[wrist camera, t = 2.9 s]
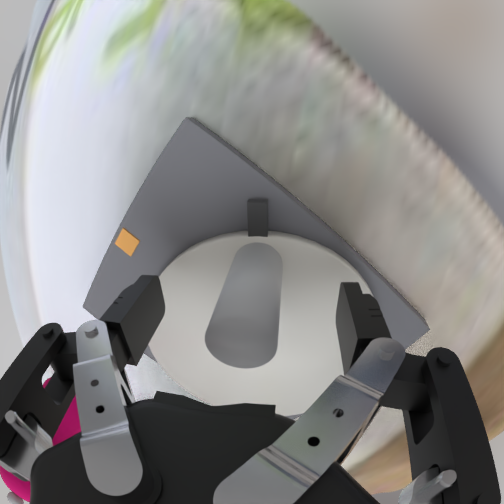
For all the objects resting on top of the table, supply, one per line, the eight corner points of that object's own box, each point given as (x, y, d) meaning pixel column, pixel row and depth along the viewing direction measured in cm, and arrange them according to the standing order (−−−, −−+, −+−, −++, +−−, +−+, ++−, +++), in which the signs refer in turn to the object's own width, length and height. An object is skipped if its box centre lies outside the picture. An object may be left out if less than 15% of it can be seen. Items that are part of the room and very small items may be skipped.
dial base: (424, 319, 19) (430, 330, 17) (277, 417, 25) (276, 428, 24) (192, 117, 15) (184, 117, 14) (89, 298, 22) (81, 307, 20)
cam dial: (352, 406, 22) (359, 476, 15) (174, 395, 23) (150, 459, 17) (405, 203, 14) (473, 266, 8) (124, 201, 16) (43, 253, 9)
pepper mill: (121, 393, 27) (54, 534, 10) (94, 400, 30) (34, 516, 12) (75, 349, 25) (-15, 490, 7) (54, 362, 28) (-21, 476, 10)
